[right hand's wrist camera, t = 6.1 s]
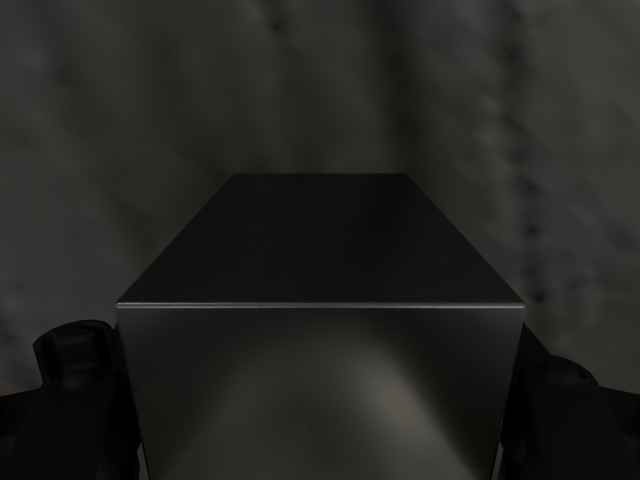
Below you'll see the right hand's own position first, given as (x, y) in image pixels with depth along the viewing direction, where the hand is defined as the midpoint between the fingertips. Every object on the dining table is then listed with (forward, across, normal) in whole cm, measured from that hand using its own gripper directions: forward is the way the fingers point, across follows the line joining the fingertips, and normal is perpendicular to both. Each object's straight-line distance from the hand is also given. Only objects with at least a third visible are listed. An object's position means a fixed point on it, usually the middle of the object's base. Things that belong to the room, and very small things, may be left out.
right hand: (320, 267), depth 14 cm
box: (+1, 0, -7) cm, 7 cm away
